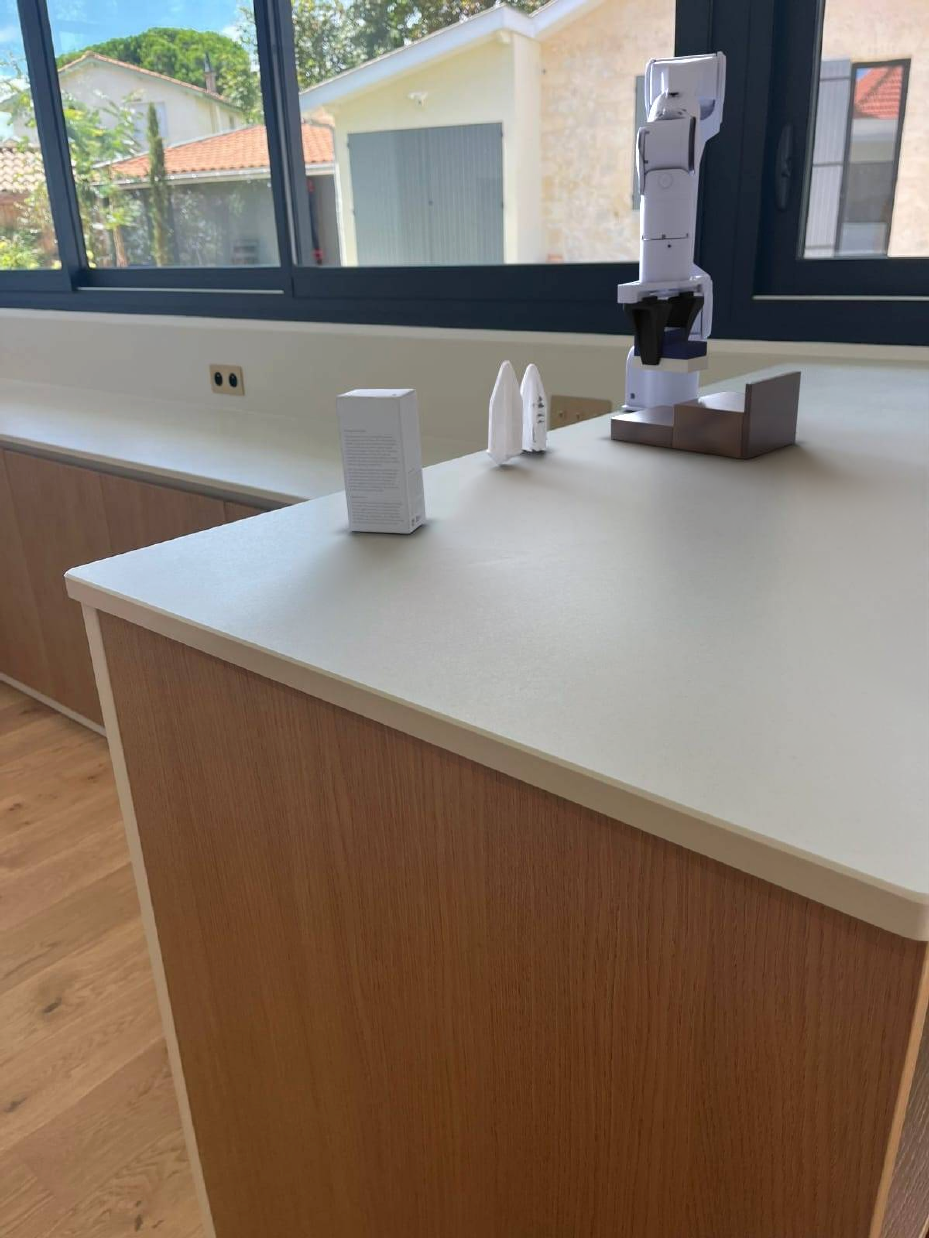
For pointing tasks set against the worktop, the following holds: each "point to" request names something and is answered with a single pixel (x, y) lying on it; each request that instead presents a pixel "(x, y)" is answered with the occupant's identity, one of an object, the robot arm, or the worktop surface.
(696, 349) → the navy stepped block
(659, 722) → the worktop surface
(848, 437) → the worktop surface
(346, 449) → the cosmetic box
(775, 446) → the step shelf
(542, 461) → the worktop surface
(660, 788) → the worktop surface
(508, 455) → the shaker set
